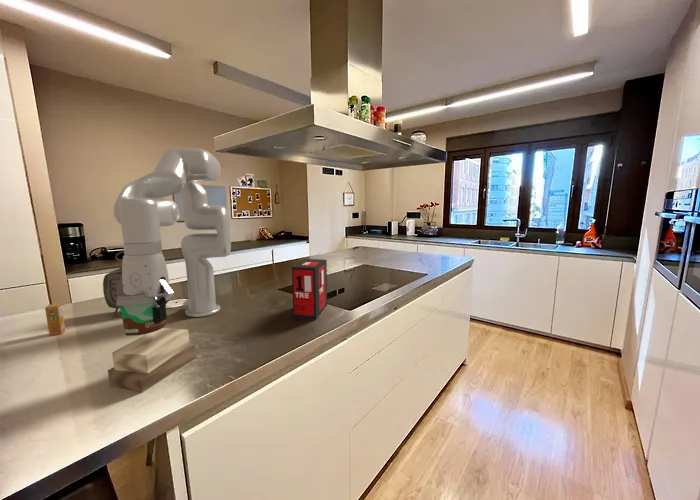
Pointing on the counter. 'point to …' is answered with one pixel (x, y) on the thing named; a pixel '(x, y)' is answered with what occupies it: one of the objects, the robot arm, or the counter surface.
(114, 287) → the tabletop clock
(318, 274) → the cleaning product box
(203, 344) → the counter surface
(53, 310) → the supplement box
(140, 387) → the tower base block
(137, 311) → the food container
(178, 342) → the tower top block
